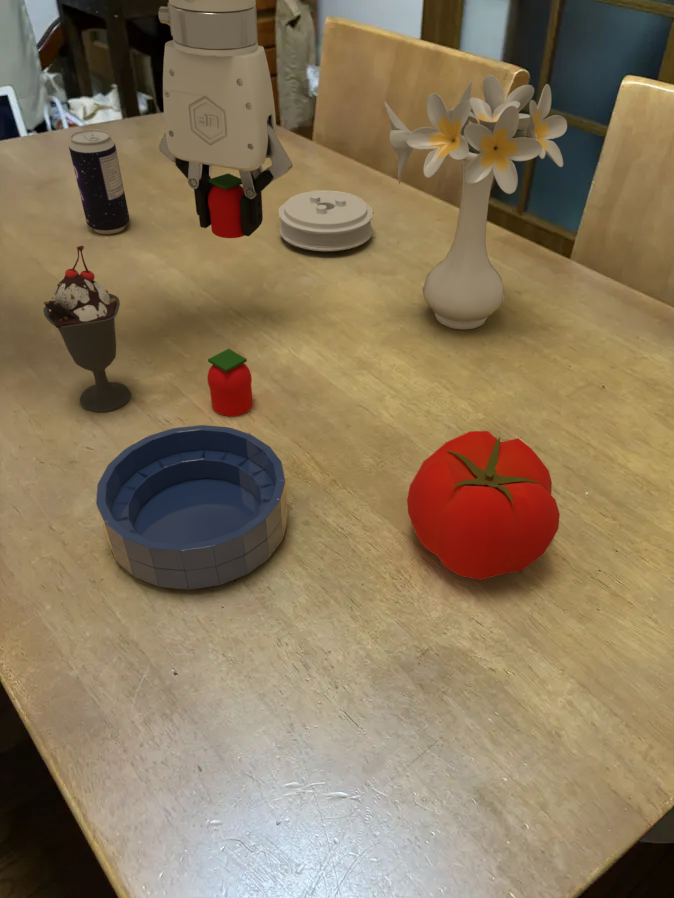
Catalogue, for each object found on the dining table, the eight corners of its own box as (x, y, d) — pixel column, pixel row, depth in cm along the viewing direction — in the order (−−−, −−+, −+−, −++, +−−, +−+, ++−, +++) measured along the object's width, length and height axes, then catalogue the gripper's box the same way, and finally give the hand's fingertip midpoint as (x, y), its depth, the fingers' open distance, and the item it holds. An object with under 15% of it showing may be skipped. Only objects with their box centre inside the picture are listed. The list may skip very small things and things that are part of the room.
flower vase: (368, 297, 91) (375, 67, 74) (512, 287, 94) (551, 64, 77) (390, 355, 82) (404, 108, 65) (549, 342, 85) (602, 102, 68)
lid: (391, 238, 103) (392, 202, 100) (325, 267, 97) (324, 229, 93) (327, 210, 110) (326, 175, 106) (260, 236, 103) (258, 199, 99)
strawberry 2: (202, 404, 75) (195, 359, 71) (234, 386, 77) (229, 342, 73) (230, 422, 73) (224, 376, 69) (262, 403, 75) (258, 358, 71)
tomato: (426, 485, 67) (435, 403, 61) (560, 523, 64) (584, 440, 58) (383, 569, 60) (389, 485, 53) (532, 616, 57) (557, 533, 50)
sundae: (134, 373, 78) (103, 234, 68) (144, 409, 74) (113, 266, 63) (68, 384, 76) (26, 243, 66) (74, 423, 72) (30, 278, 62)
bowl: (74, 529, 62) (59, 484, 58) (211, 448, 70) (205, 404, 66) (185, 626, 55) (175, 581, 52) (322, 524, 63) (322, 479, 60)
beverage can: (119, 215, 106) (101, 125, 98) (138, 229, 103) (121, 137, 95) (81, 225, 103) (59, 133, 95) (99, 240, 100) (78, 146, 92)
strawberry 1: (202, 229, 80) (197, 179, 76) (232, 218, 82) (229, 169, 78) (228, 242, 78) (224, 191, 74) (258, 231, 80) (256, 180, 76)
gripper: (108, 25, 66) (141, 227, 79) (285, 49, 63) (290, 256, 75) (152, 9, 71) (176, 201, 84) (317, 31, 68) (317, 227, 81)
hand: (230, 225), depth 79 cm, fingers closed on strawberry 1, 4 cm apart
